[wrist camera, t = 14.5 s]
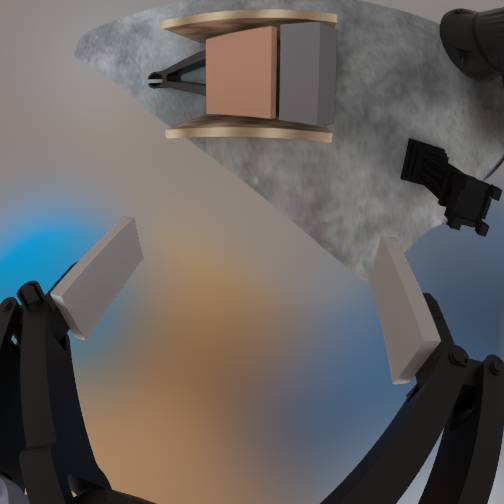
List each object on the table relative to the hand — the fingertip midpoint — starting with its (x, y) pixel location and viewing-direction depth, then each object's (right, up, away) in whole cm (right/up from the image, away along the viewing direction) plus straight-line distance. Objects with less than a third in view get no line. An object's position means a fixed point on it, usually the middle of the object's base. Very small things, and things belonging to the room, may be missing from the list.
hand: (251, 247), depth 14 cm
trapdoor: (+3, +23, +16) cm, 28 cm away
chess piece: (+32, +16, +28) cm, 46 cm away
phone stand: (-4, +28, +23) cm, 37 cm away
